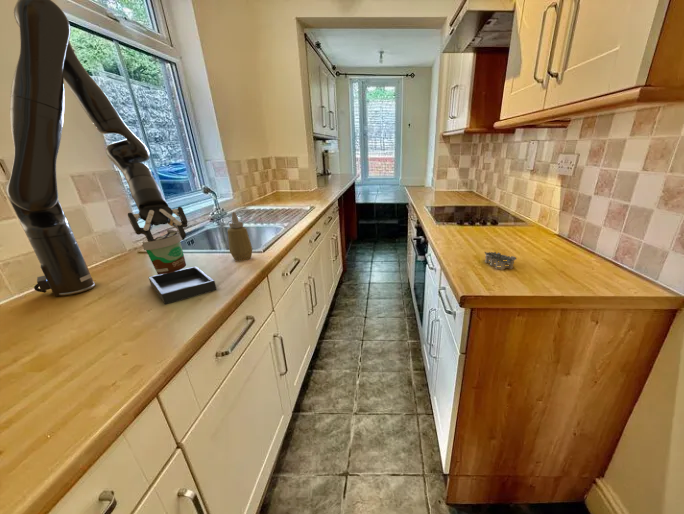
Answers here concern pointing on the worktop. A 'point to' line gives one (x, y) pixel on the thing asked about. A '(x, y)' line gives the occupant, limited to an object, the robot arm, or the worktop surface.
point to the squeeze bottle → (239, 240)
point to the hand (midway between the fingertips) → (169, 240)
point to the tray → (182, 284)
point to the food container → (166, 252)
